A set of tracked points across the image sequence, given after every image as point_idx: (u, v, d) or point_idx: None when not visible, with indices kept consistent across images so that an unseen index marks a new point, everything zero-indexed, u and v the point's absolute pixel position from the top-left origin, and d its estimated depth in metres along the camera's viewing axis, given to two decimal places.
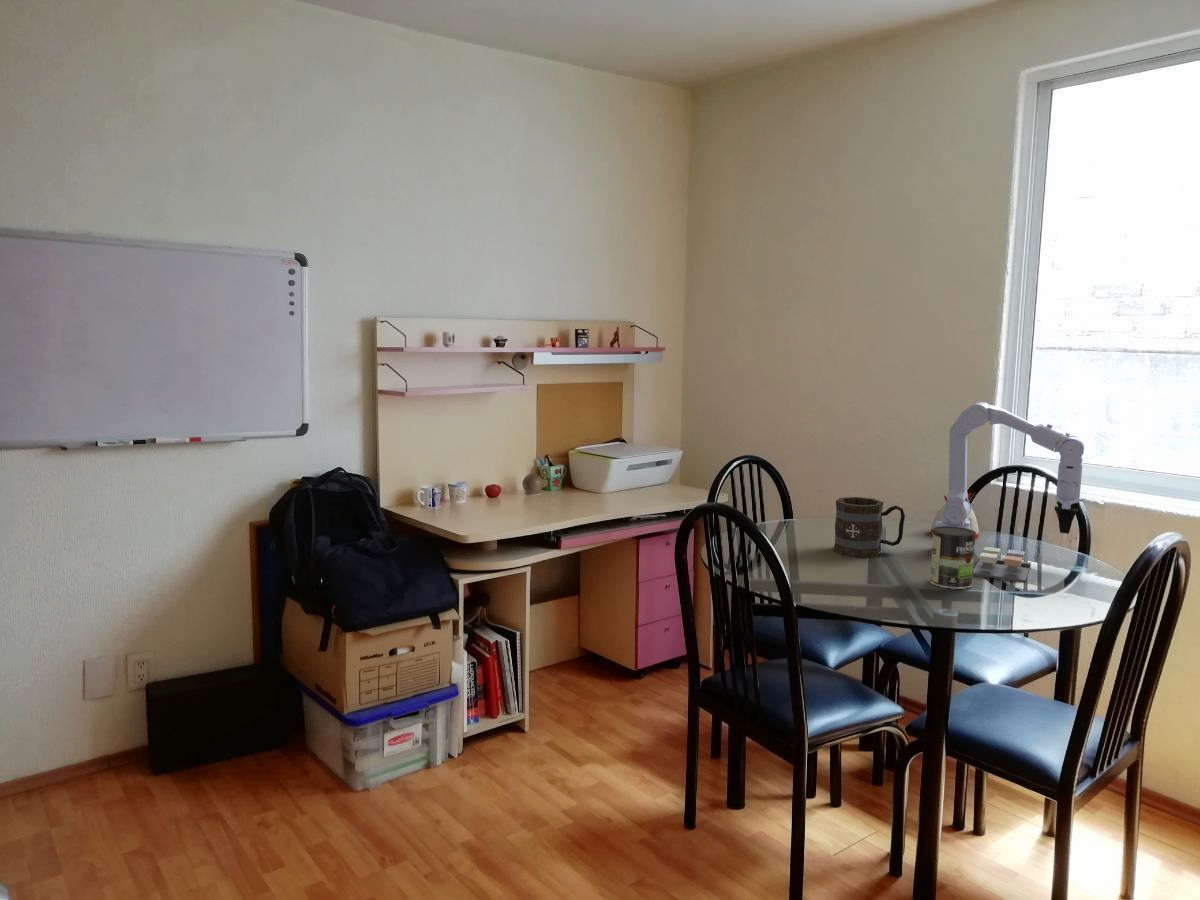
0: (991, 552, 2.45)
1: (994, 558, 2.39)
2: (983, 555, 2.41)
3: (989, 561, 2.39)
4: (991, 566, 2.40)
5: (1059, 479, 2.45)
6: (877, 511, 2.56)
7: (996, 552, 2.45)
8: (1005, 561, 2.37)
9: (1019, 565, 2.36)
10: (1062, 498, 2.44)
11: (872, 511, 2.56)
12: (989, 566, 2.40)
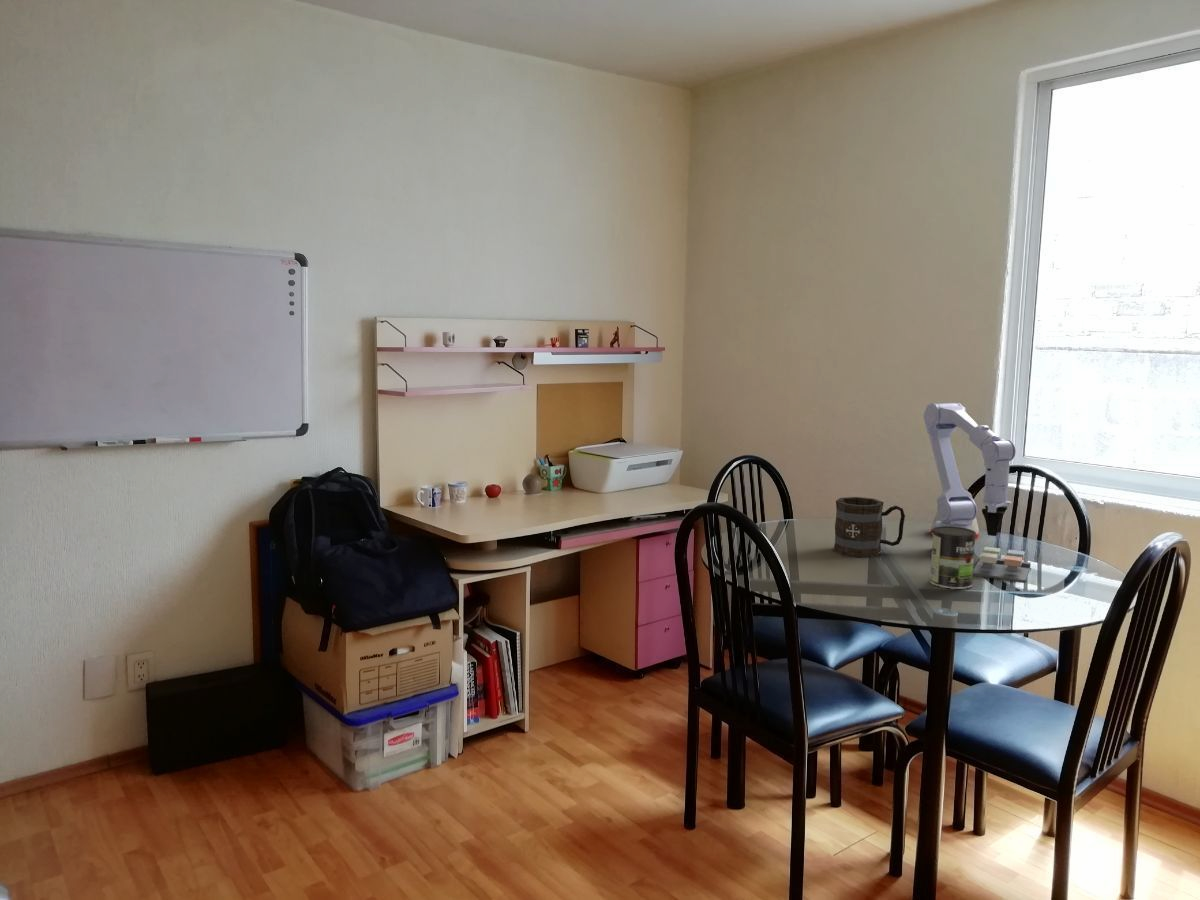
0: (991, 552, 2.45)
1: (994, 558, 2.39)
2: (983, 555, 2.41)
3: (989, 561, 2.39)
4: (991, 566, 2.40)
5: None
6: (877, 511, 2.56)
7: (996, 552, 2.45)
8: (1005, 561, 2.37)
9: (1019, 565, 2.36)
10: (989, 501, 2.43)
11: (872, 511, 2.56)
12: (989, 566, 2.40)
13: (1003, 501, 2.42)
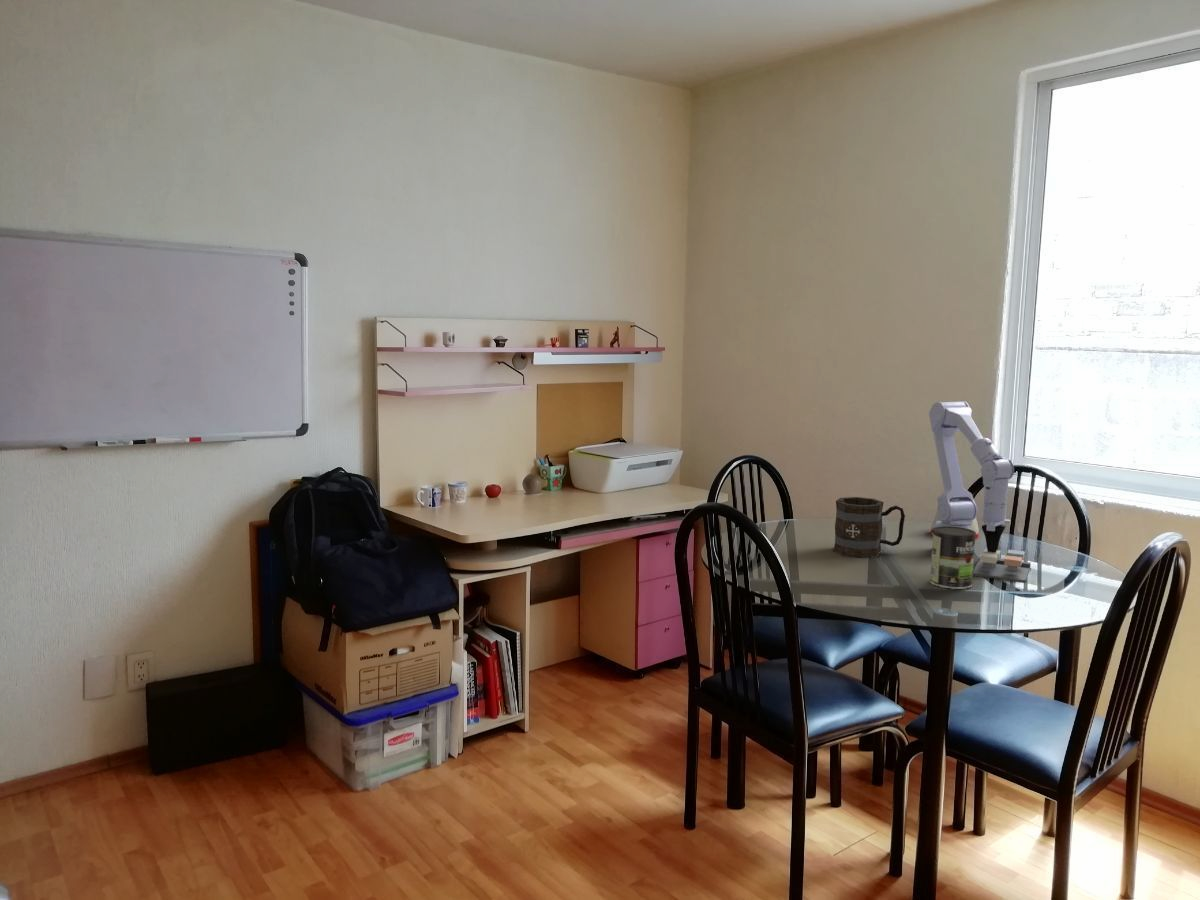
0: None
1: (994, 558, 2.39)
2: (983, 555, 2.41)
3: (989, 561, 2.39)
4: (991, 566, 2.40)
5: None
6: (877, 511, 2.56)
7: None
8: (1005, 561, 2.37)
9: (1019, 565, 2.36)
10: (988, 520, 2.44)
11: (872, 511, 2.56)
12: (989, 566, 2.40)
13: (1002, 519, 2.43)
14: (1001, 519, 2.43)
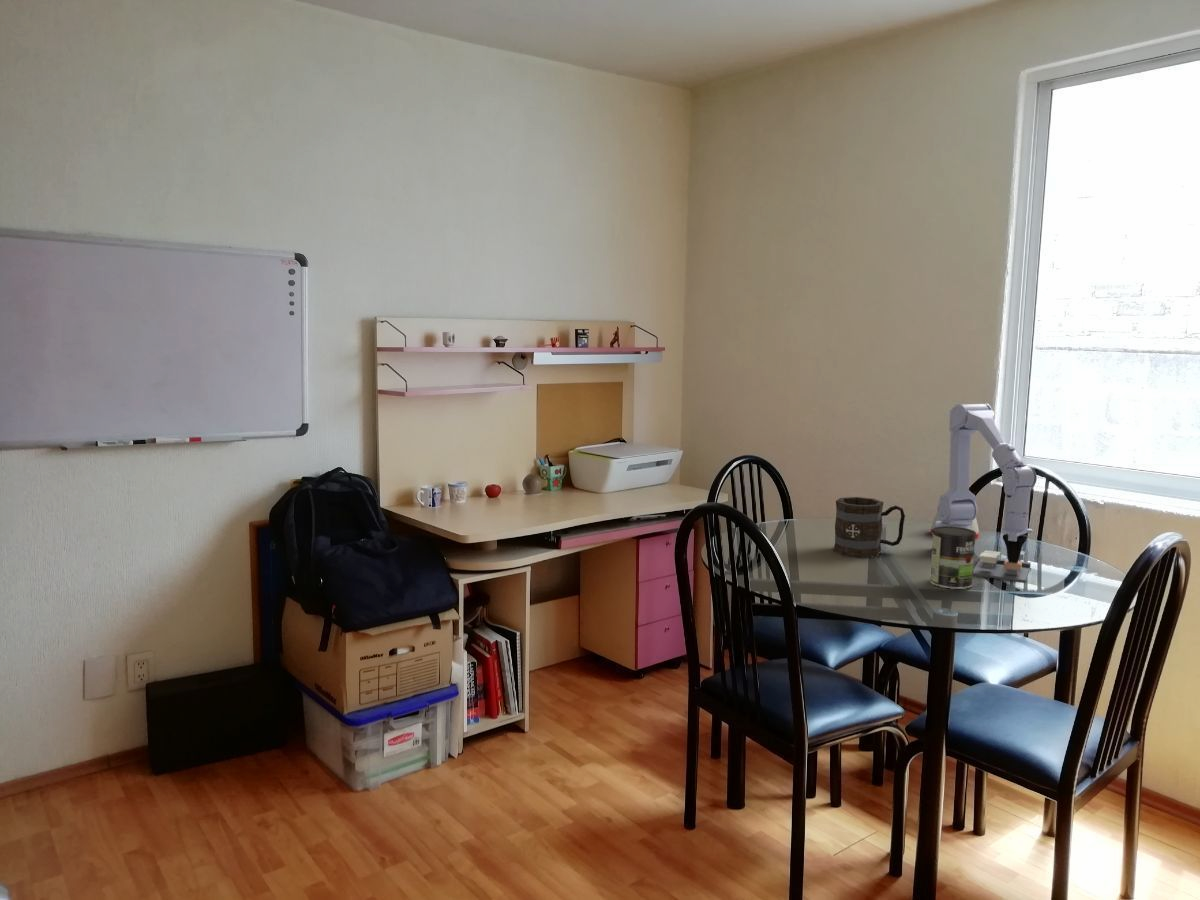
0: None
1: (994, 558, 2.39)
2: (983, 555, 2.41)
3: (989, 561, 2.39)
4: (991, 566, 2.40)
5: None
6: (877, 511, 2.56)
7: None
8: (1005, 565, 2.38)
9: (1019, 569, 2.36)
10: (1009, 529, 2.35)
11: (872, 511, 2.56)
12: (989, 566, 2.40)
13: (1024, 529, 2.34)
14: (1023, 529, 2.34)
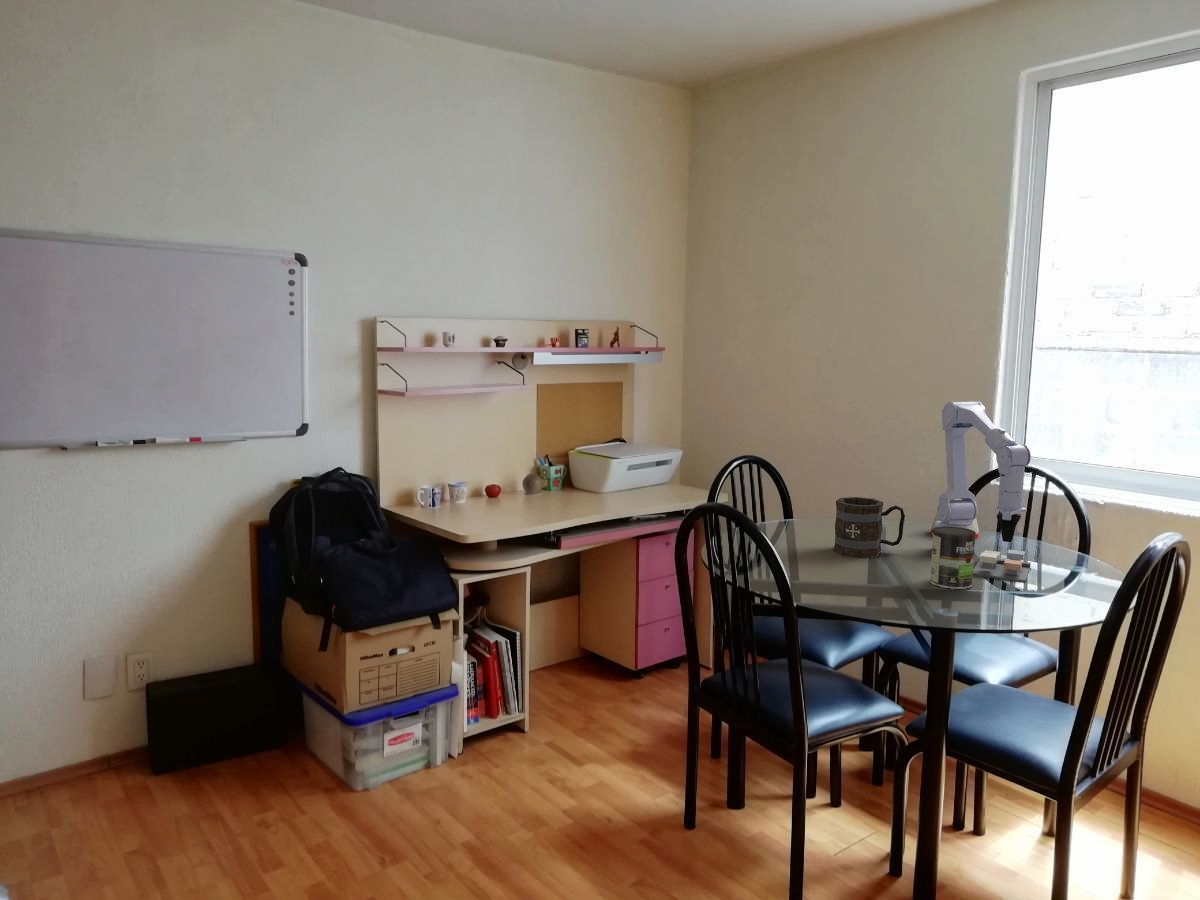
0: None
1: (994, 558, 2.39)
2: (983, 555, 2.41)
3: (989, 561, 2.39)
4: (991, 566, 2.40)
5: None
6: (877, 511, 2.56)
7: None
8: (1005, 565, 2.38)
9: (1019, 569, 2.36)
10: (1003, 508, 2.35)
11: (872, 511, 2.56)
12: (989, 566, 2.40)
13: (1018, 508, 2.34)
14: (1017, 507, 2.34)
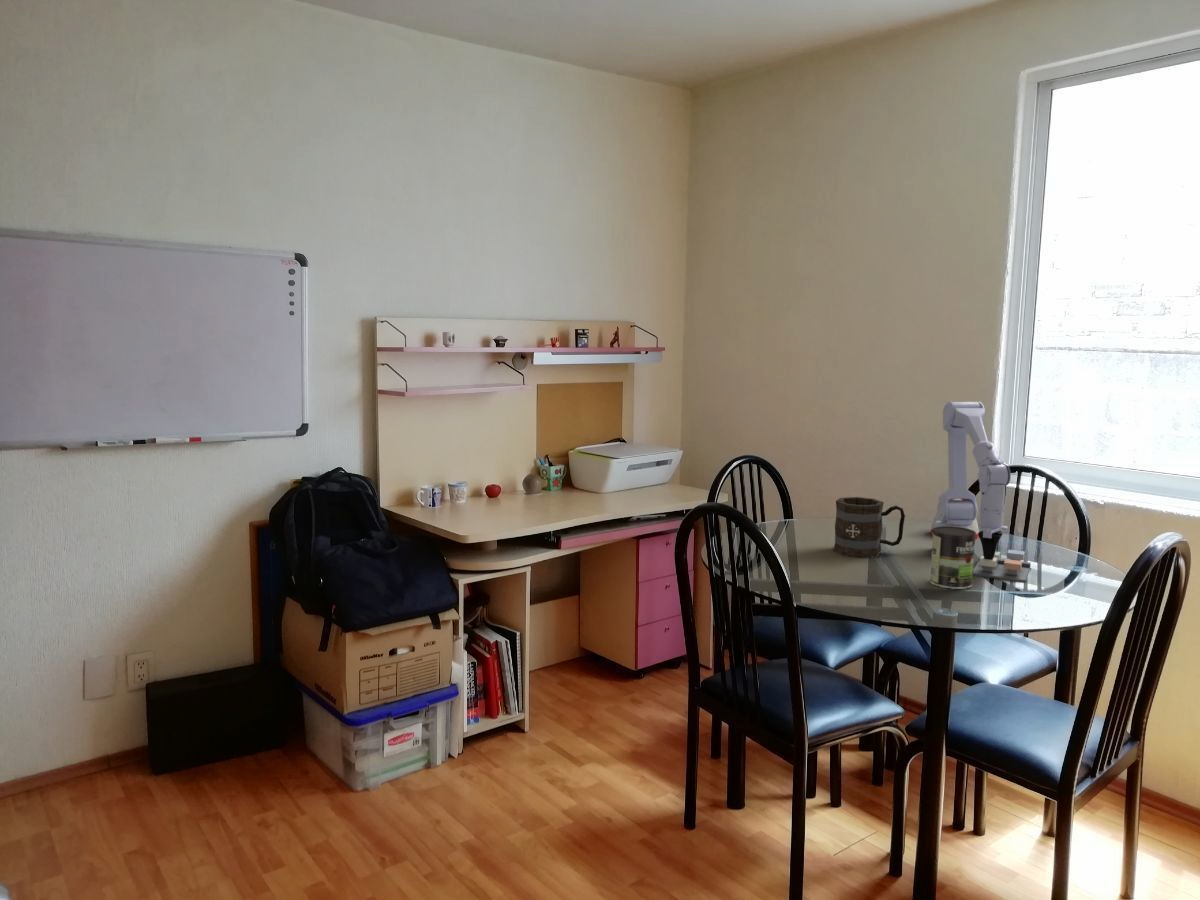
0: None
1: (994, 561, 2.39)
2: (983, 559, 2.41)
3: (989, 565, 2.40)
4: (991, 570, 2.40)
5: None
6: (877, 511, 2.56)
7: (996, 556, 2.45)
8: (1005, 565, 2.38)
9: (1019, 569, 2.36)
10: (984, 526, 2.38)
11: (872, 511, 2.56)
12: (989, 570, 2.40)
13: (999, 526, 2.37)
14: (998, 526, 2.37)
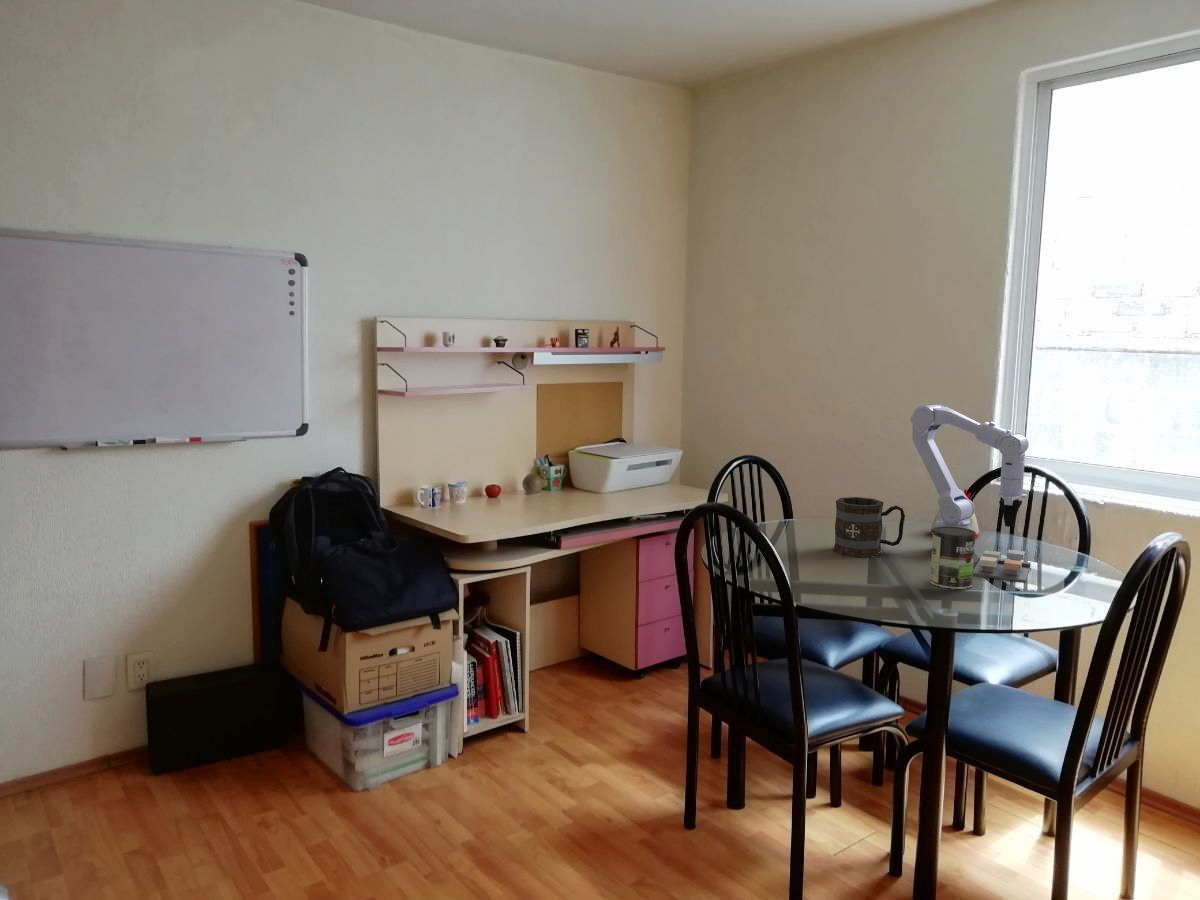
0: (991, 555, 2.46)
1: (994, 561, 2.39)
2: (983, 559, 2.41)
3: (989, 565, 2.40)
4: (991, 570, 2.40)
5: (1001, 475, 2.49)
6: (877, 511, 2.56)
7: (996, 556, 2.45)
8: (1005, 565, 2.38)
9: (1019, 569, 2.36)
10: (1005, 494, 2.48)
11: (872, 511, 2.56)
12: (989, 570, 2.40)
13: (1019, 494, 2.47)
14: (1018, 494, 2.47)
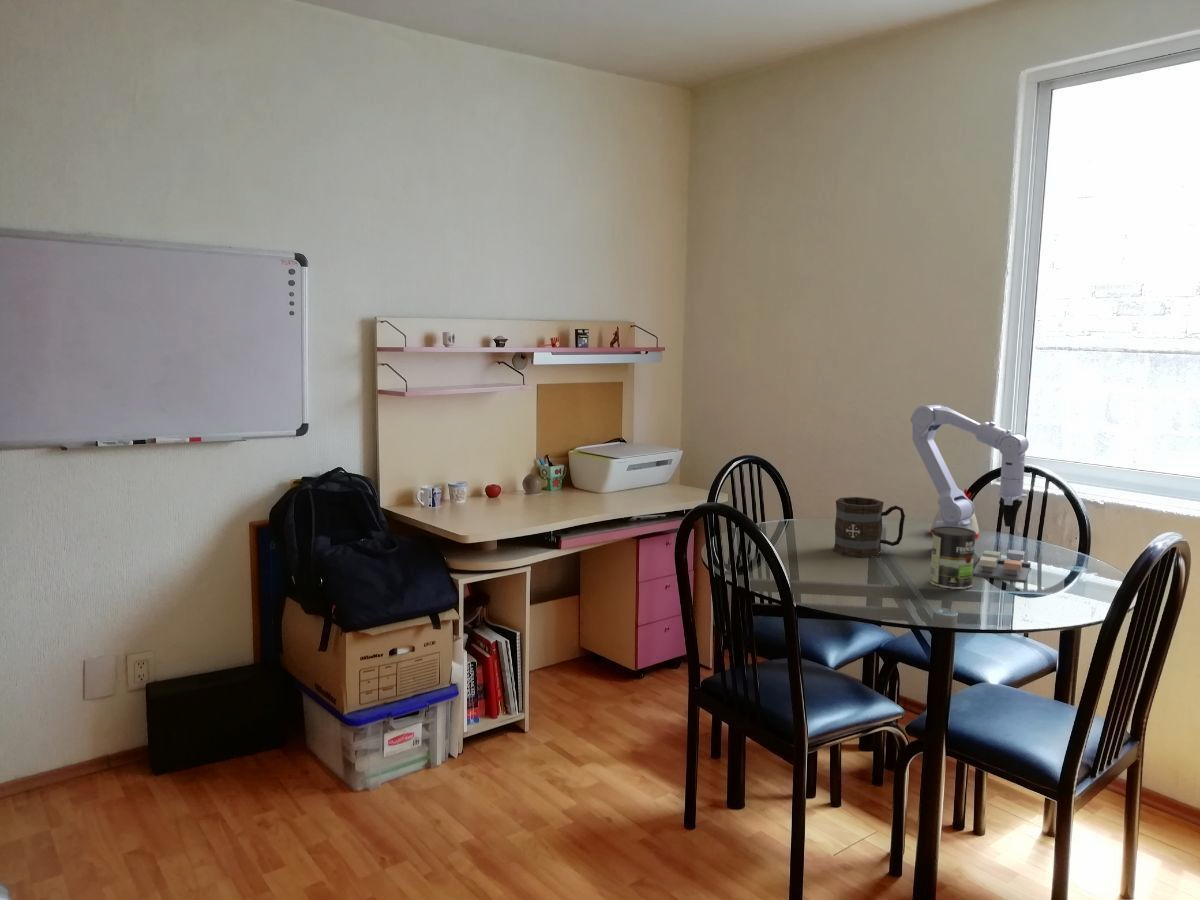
0: (991, 555, 2.46)
1: (994, 561, 2.39)
2: (983, 559, 2.41)
3: (989, 565, 2.40)
4: (991, 570, 2.40)
5: (1001, 475, 2.49)
6: (877, 511, 2.56)
7: (996, 556, 2.45)
8: (1005, 565, 2.38)
9: (1019, 569, 2.36)
10: (1005, 494, 2.48)
11: (872, 511, 2.56)
12: (989, 570, 2.40)
13: (1019, 494, 2.47)
14: (1018, 494, 2.47)
